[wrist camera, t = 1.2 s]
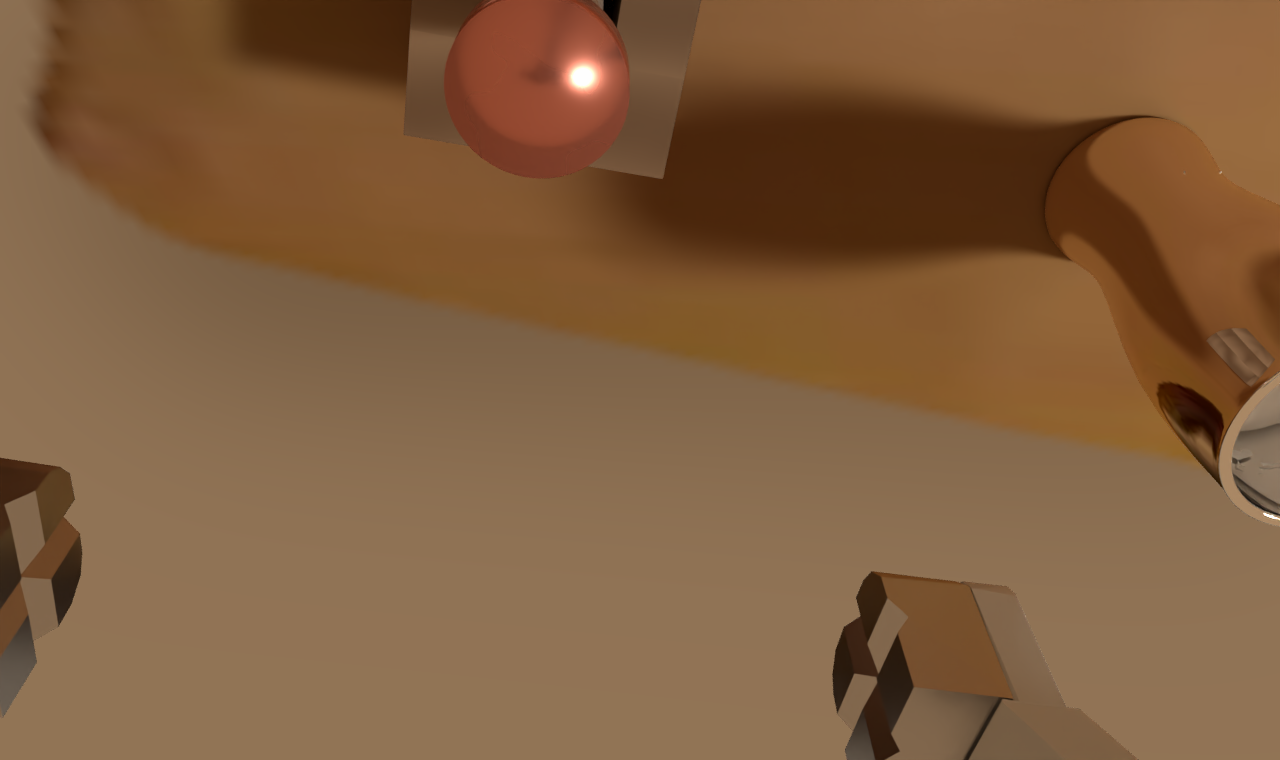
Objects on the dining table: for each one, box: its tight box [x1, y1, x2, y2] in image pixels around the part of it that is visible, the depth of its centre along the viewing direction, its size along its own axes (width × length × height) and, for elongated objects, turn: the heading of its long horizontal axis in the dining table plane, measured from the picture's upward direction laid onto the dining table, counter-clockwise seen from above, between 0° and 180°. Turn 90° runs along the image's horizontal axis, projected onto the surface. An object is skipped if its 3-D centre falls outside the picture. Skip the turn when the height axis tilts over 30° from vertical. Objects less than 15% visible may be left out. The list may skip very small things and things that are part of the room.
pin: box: [444, 0, 630, 178], centre depth 28 cm, size 4×4×14 cm
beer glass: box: [1045, 117, 1280, 527], centre depth 33 cm, size 7×7×15 cm
